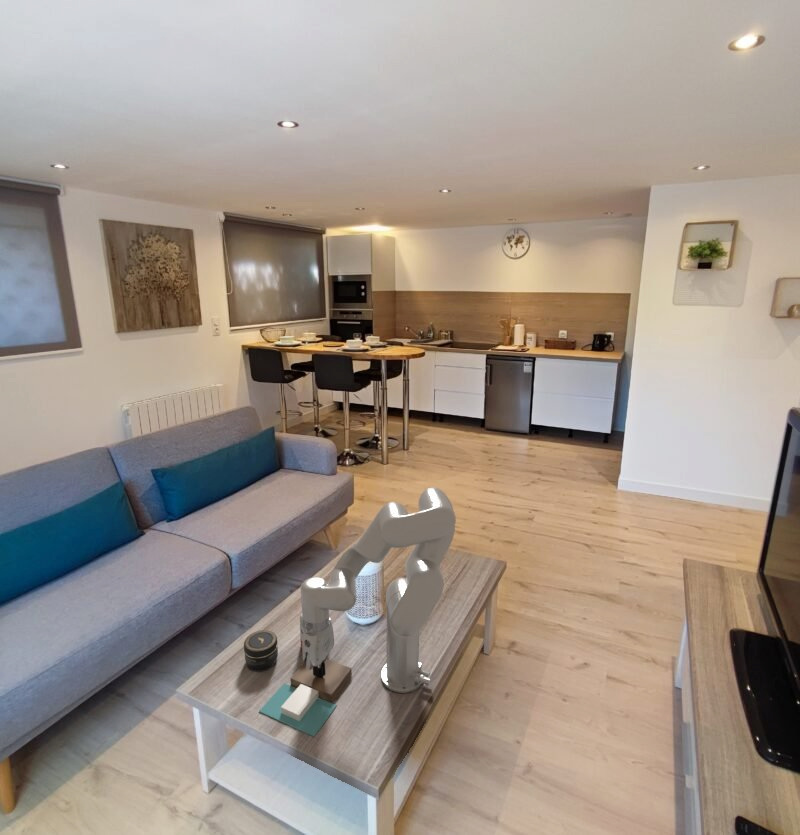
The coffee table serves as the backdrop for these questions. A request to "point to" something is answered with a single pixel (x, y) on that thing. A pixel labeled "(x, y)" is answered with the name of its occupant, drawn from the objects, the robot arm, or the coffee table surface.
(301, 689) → the white rubber eraser
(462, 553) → the coffee table surface
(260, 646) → the jar
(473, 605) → the coffee table surface
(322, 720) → the mat
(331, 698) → the brown flat block
